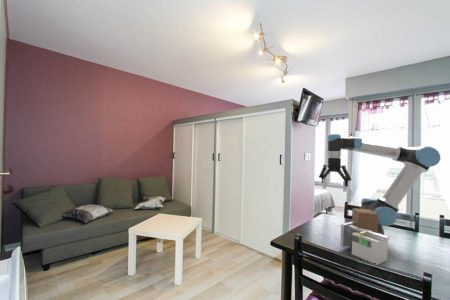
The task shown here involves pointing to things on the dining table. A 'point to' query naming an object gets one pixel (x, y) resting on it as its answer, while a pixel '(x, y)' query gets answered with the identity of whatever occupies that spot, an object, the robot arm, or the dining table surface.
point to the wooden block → (365, 219)
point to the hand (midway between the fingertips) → (334, 190)
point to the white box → (369, 248)
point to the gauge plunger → (351, 228)
